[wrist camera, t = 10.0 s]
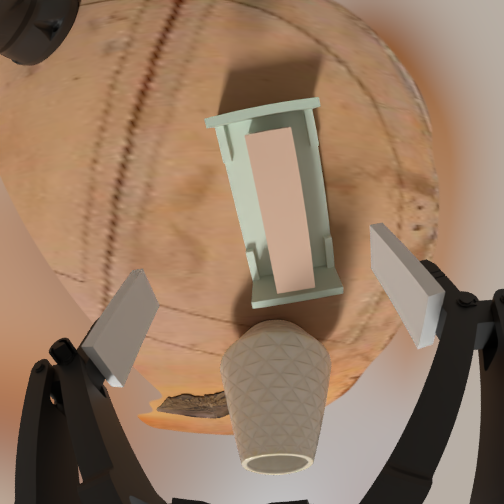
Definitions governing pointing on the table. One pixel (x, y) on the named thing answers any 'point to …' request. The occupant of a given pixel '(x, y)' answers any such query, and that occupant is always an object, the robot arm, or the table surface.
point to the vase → (276, 396)
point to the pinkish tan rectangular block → (282, 207)
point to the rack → (247, 203)
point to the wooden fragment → (197, 406)
